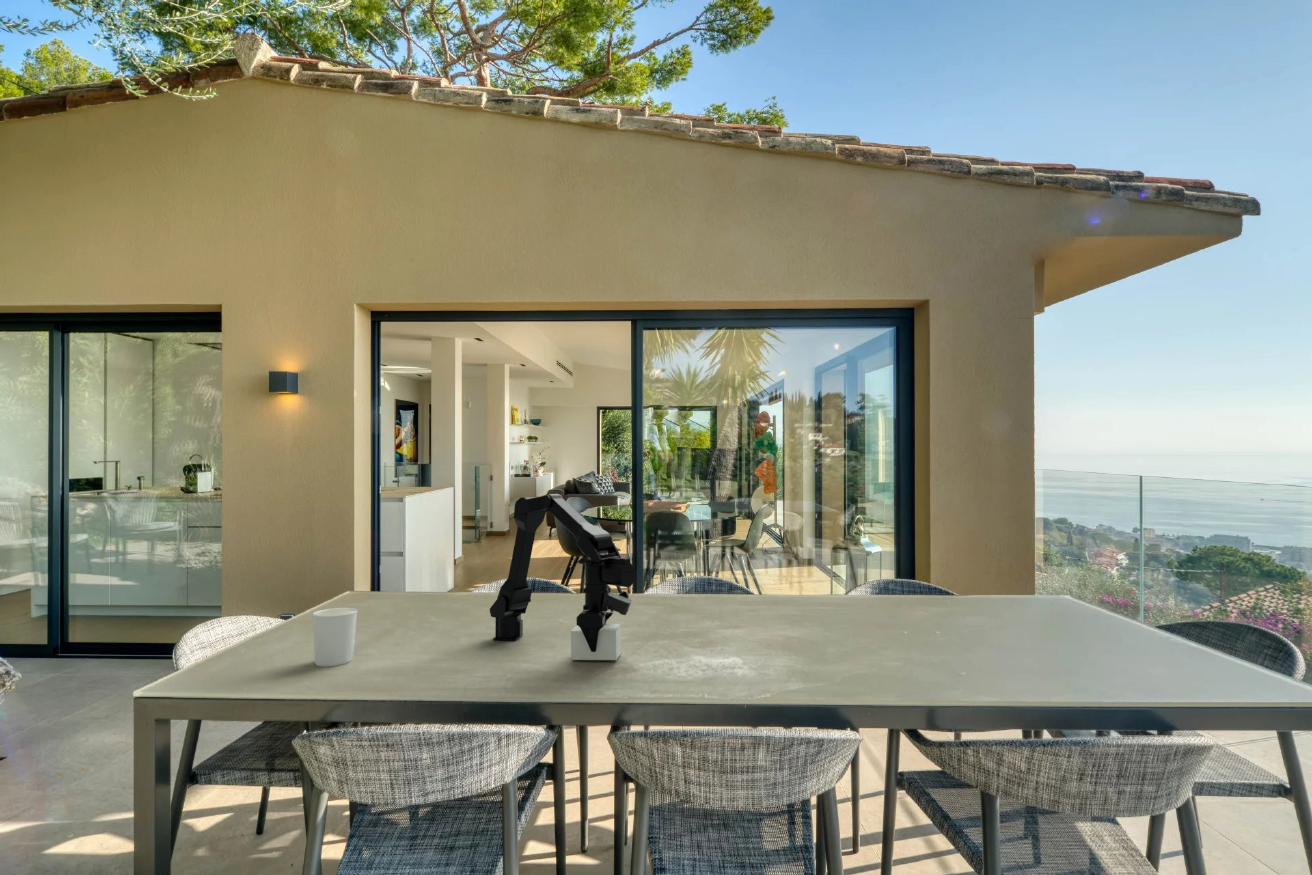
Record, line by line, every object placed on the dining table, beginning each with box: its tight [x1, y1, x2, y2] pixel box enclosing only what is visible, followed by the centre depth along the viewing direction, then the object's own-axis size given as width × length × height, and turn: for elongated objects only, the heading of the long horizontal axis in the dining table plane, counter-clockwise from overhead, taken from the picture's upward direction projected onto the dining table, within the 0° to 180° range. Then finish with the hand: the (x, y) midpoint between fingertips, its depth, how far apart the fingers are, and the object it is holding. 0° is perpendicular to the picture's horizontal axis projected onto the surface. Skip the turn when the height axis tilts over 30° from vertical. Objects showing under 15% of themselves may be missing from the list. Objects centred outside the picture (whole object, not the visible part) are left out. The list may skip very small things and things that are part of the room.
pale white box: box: [570, 623, 622, 661], centre depth 159 cm, size 11×8×7 cm
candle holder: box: [312, 607, 358, 668], centre depth 157 cm, size 10×10×12 cm
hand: (596, 647), depth 159 cm, fingers closed on pale white box, 7 cm apart
